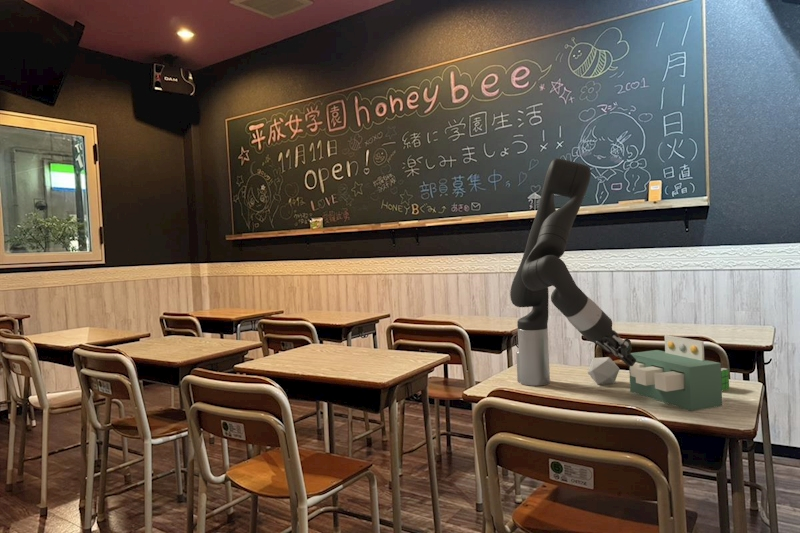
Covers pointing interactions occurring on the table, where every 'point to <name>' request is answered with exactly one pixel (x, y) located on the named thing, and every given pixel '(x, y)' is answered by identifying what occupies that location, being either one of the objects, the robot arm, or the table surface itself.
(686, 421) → the table surface
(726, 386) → the puzzle toy
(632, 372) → the button left
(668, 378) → the button right
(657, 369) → the button mid
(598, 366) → the die
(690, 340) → the console
